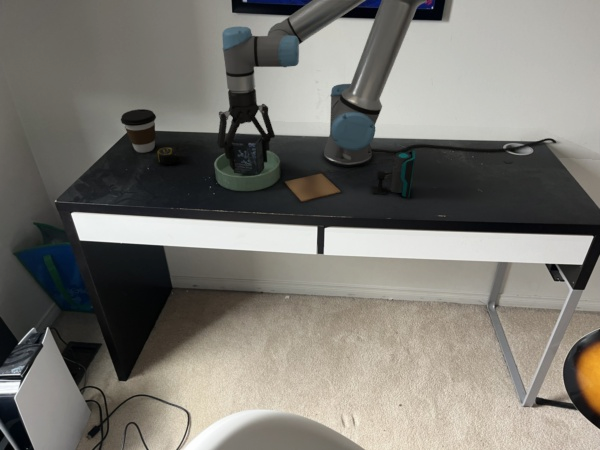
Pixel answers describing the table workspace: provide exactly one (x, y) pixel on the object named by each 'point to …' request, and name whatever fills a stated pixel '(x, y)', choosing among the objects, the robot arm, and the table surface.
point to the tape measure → (168, 155)
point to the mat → (312, 187)
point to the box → (248, 154)
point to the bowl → (244, 181)
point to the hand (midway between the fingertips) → (248, 164)
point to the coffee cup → (140, 129)
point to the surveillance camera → (398, 175)
